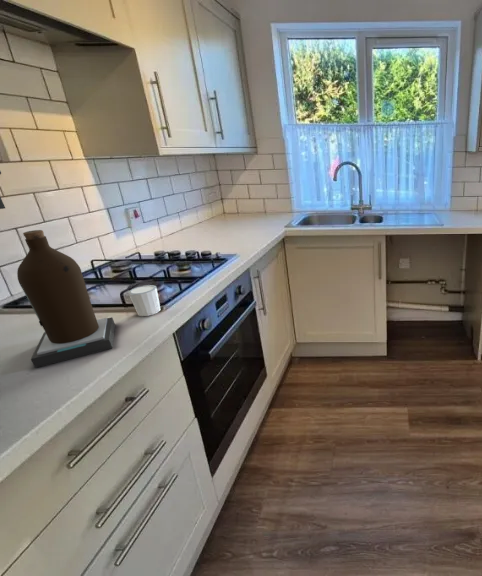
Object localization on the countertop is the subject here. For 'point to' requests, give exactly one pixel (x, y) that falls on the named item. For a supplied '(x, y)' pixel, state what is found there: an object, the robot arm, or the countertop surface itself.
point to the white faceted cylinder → (145, 300)
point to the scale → (75, 345)
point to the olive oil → (56, 291)
